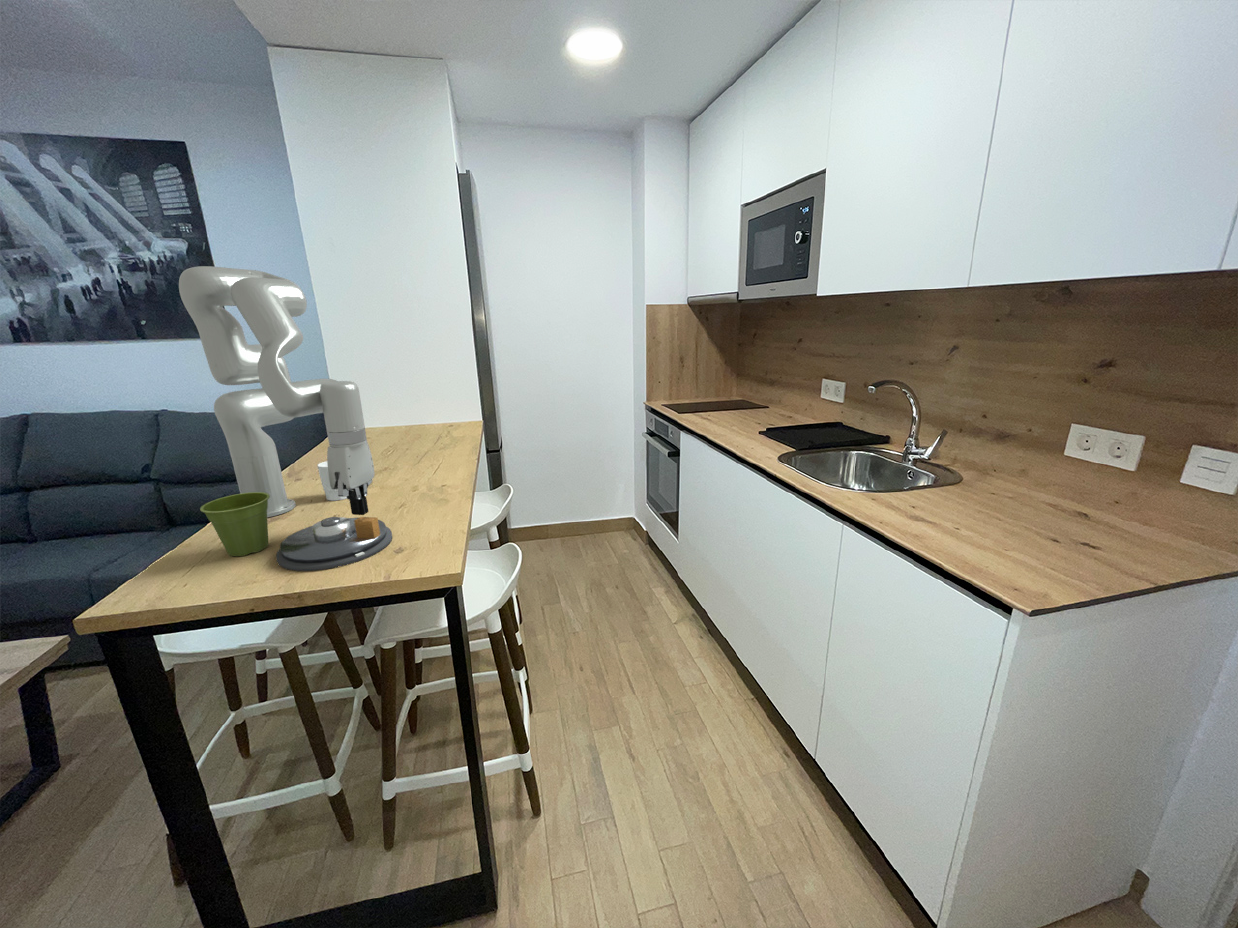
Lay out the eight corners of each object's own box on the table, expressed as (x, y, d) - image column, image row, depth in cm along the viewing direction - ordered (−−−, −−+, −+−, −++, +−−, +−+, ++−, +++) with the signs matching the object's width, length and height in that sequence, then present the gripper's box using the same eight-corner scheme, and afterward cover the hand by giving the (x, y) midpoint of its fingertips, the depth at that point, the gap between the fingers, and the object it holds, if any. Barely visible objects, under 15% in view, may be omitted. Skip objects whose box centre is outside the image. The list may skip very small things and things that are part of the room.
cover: (306, 542, 103) (303, 525, 102) (329, 529, 110) (326, 513, 109) (337, 543, 102) (334, 526, 101) (358, 530, 109) (355, 514, 108)
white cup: (361, 492, 143) (355, 459, 140) (344, 501, 136) (337, 467, 133) (335, 492, 144) (329, 459, 141) (317, 501, 136) (310, 466, 134)
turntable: (257, 560, 99) (250, 535, 97) (327, 521, 118) (323, 500, 116) (347, 564, 96) (342, 539, 95) (404, 524, 115) (401, 502, 114)
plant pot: (223, 544, 110) (210, 497, 107) (285, 534, 114) (275, 489, 111) (204, 567, 100) (190, 515, 96) (274, 555, 104) (262, 505, 101)
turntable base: (249, 568, 98) (248, 562, 98) (326, 525, 119) (325, 520, 119) (351, 573, 95) (350, 567, 95) (411, 528, 116) (410, 523, 116)
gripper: (353, 430, 118) (365, 501, 123) (307, 445, 104) (323, 525, 109) (382, 430, 117) (393, 502, 122) (340, 445, 103) (354, 527, 108)
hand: (360, 513), depth 115 cm, fingers closed
